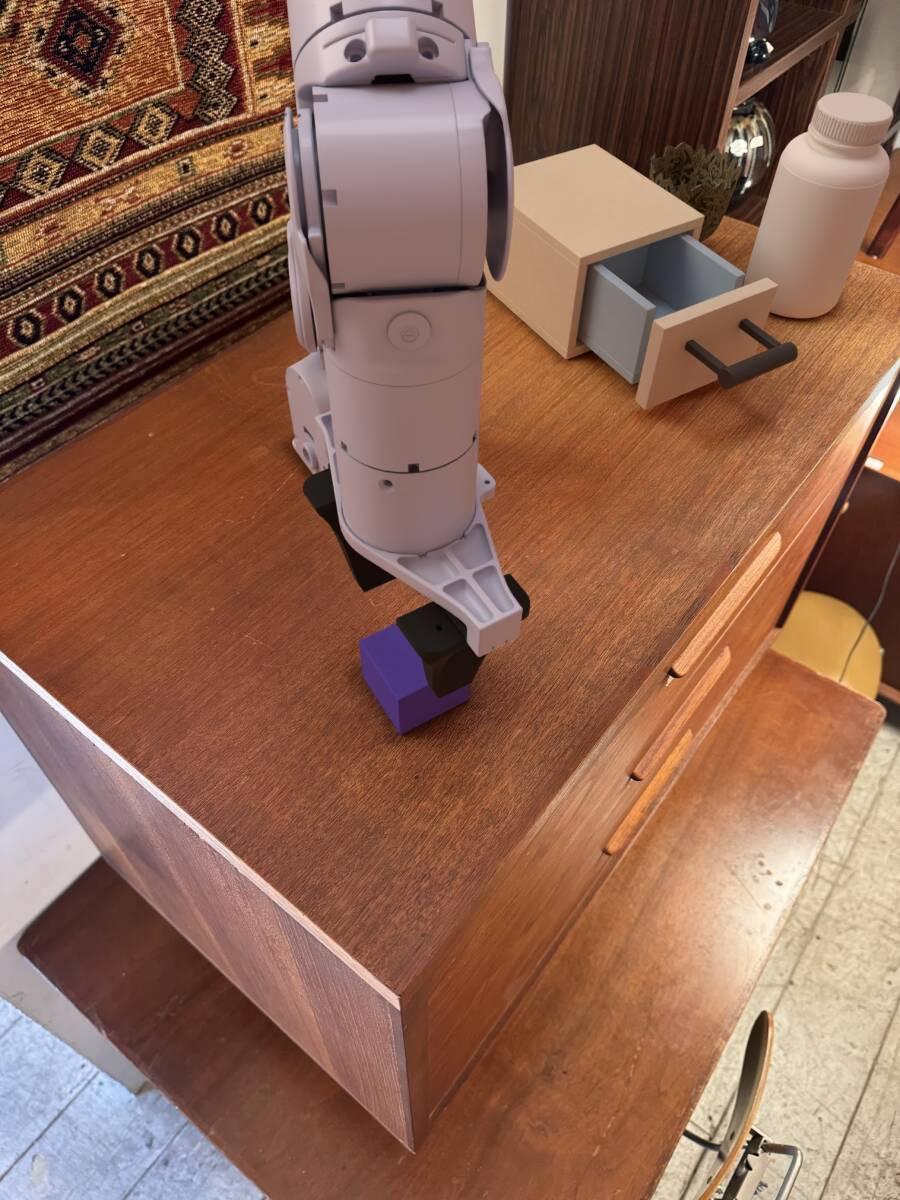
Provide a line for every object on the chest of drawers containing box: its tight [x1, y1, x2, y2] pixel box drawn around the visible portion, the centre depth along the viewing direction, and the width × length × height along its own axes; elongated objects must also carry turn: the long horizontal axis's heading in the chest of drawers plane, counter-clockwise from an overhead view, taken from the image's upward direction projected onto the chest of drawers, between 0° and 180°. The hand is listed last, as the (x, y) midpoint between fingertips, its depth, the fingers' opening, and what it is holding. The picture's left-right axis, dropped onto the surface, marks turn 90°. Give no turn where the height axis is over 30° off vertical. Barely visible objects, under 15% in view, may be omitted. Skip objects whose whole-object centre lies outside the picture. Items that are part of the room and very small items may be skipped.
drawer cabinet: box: [483, 143, 705, 361], centre depth 70 cm, size 14×12×9 cm
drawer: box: [577, 232, 799, 411], centre depth 64 cm, size 17×10×7 cm, turn 31°
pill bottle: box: [743, 91, 894, 319], centre depth 68 cm, size 8×8×15 cm
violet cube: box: [358, 622, 471, 735], centre depth 47 cm, size 4×4×4 cm
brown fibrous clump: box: [648, 141, 743, 244], centre depth 74 cm, size 8×7×8 cm
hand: (413, 630), depth 44 cm, fingers open, 7 cm apart
